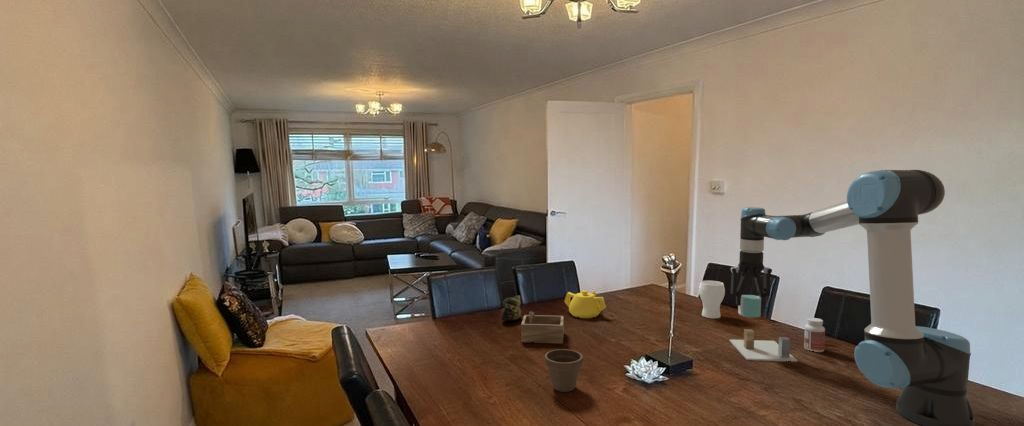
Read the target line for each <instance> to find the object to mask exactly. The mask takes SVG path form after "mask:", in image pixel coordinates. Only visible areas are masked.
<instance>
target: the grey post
mask: <svg viewBox="0 0 1024 426" xmlns="http://www.w3.org/2000/svg"><path fill="white" fill-rule="evenodd" d="M778 344H779V345H778V355H779V356H780V357H781V358H790V354H791V339H790V338H789V337H787V336H779V337H778Z"/></svg>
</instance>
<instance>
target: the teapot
mask: <svg viewBox="0 0 1024 426" xmlns="http://www.w3.org/2000/svg"><path fill="white" fill-rule="evenodd" d="M571 298H572V299H571ZM605 302H606V301H605V299H604V296H597V292H595V291H591V292H589V291H588V290H585V289H584V290H583V289H582V290H581V292H578V293H573V292H570V291H568V292H567V293H566V295H565V298H564V303H565V305H566V306H567V307H568V311H569V313H570V314H571V315H572V316H573V317H575V318H578V317H579V319H592V318H593V317H594V318H596V317H598V316H599V315H600V313H601V312H602V311H603V310H604V309H606V308H607V305H606V303H605ZM594 318H593V319H594Z"/></svg>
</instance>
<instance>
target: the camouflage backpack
mask: <svg viewBox="0 0 1024 426" xmlns="http://www.w3.org/2000/svg"><path fill="white" fill-rule="evenodd" d="M521 305H522V302H521V296H520V295H515V296H513V297H507V298H505V299H503V301H502V306H503V309H504V311H503V312H502V316H501V320H502V321H516V320H518V319H520V317H521V315H522V310H521V307H520V306H521Z"/></svg>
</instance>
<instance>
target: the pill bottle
mask: <svg viewBox="0 0 1024 426" xmlns="http://www.w3.org/2000/svg"><path fill="white" fill-rule="evenodd" d="M806 322H807V323H806V324H805V326H804V335H803V336H804V338H803V339H804V341H803V348H804V349H805V350H806V349H807V350H806V351H809V350H810V352H812V351H814V353H823V352H824V351H825V344H826V343H825V341H826V338H825V337H826V328H825V327H824V326H823V324H824V320H823V319H822V318H816V317H808V318H807V320H806Z"/></svg>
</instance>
